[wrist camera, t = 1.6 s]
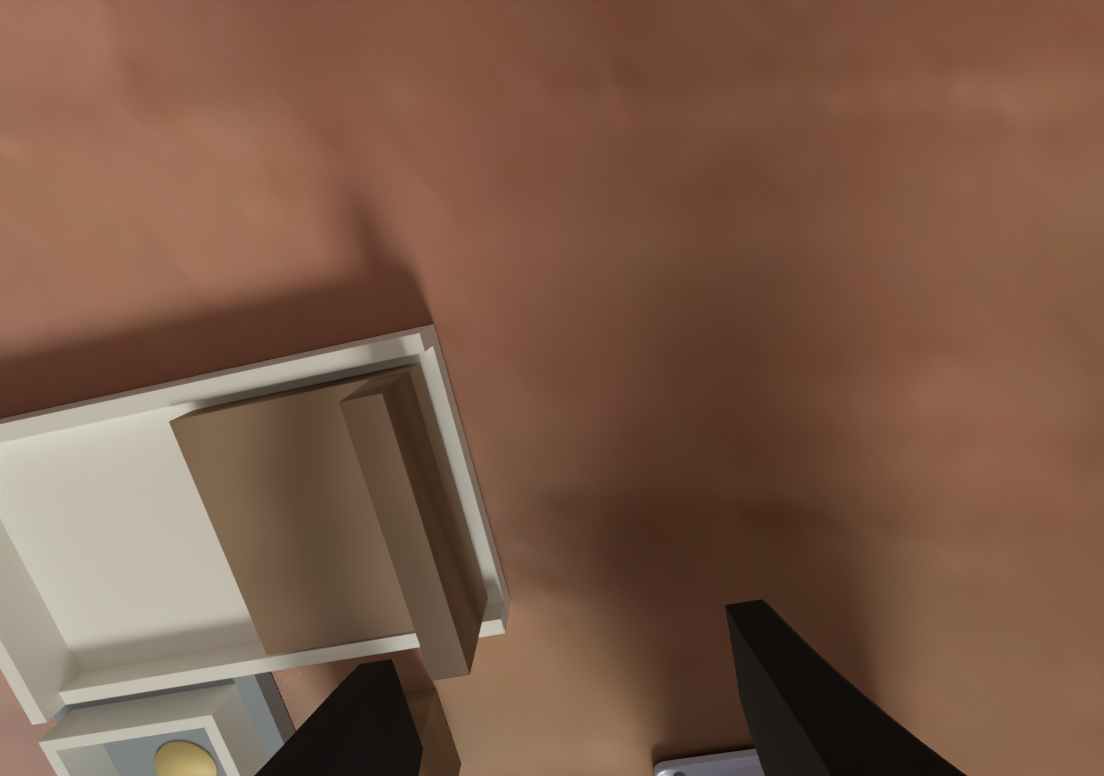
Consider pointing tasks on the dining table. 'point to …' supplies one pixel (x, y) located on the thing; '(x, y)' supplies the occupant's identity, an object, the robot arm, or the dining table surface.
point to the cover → (341, 515)
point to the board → (167, 536)
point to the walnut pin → (433, 734)
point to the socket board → (173, 731)
